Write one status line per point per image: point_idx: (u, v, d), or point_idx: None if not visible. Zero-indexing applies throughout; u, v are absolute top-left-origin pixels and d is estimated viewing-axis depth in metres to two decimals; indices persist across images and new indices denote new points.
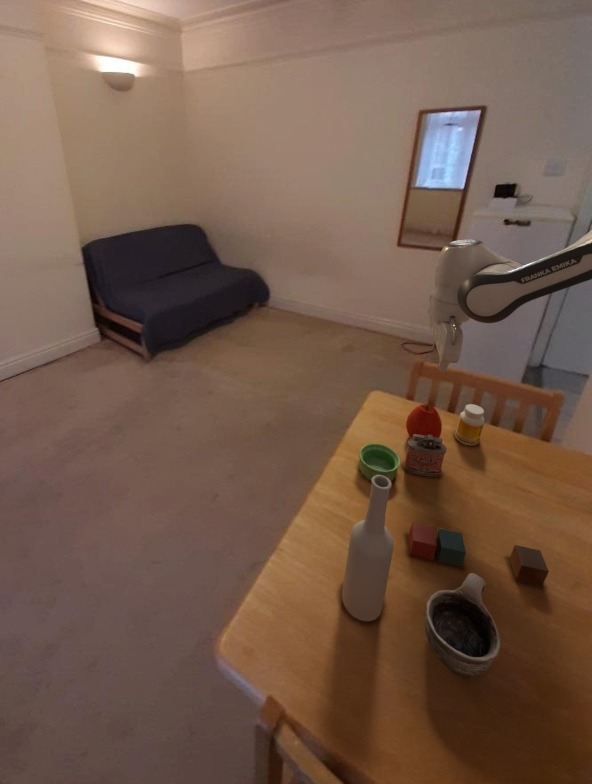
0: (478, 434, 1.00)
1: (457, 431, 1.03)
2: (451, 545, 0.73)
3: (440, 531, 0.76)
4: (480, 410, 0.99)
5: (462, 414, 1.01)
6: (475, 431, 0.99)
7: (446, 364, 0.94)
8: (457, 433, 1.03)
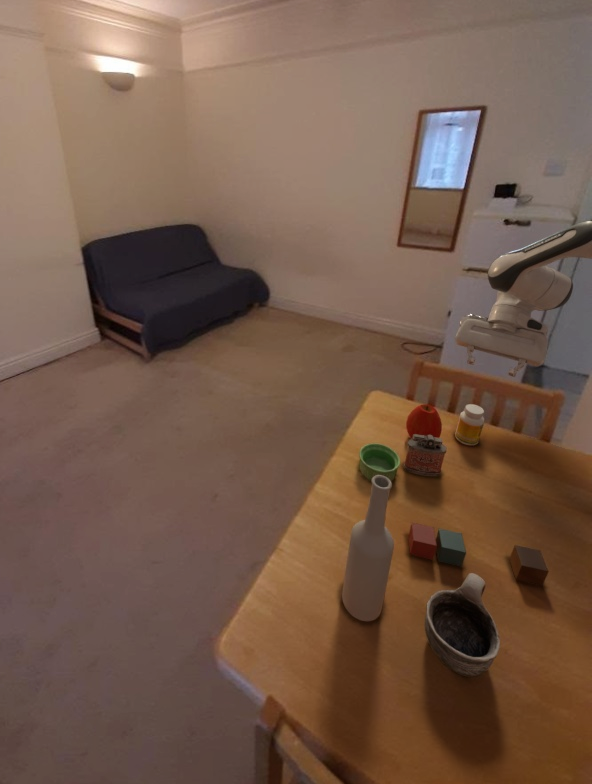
0: (478, 434, 1.00)
1: (457, 431, 1.03)
2: (451, 545, 0.73)
3: (440, 531, 0.76)
4: (480, 410, 0.99)
5: (462, 414, 1.01)
6: (475, 431, 0.99)
7: (468, 354, 1.08)
8: (457, 433, 1.03)
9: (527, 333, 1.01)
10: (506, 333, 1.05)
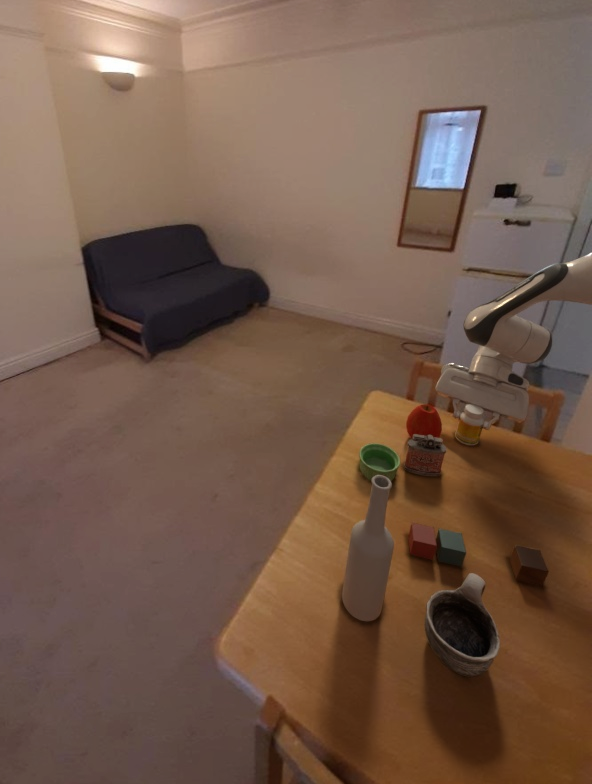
0: (478, 434, 1.00)
1: (457, 431, 1.03)
2: (451, 545, 0.73)
3: (440, 531, 0.76)
4: (480, 410, 0.99)
5: (462, 414, 1.01)
6: (475, 431, 0.99)
7: (454, 408, 1.03)
8: (457, 433, 1.03)
9: (508, 387, 0.98)
10: (486, 386, 1.01)
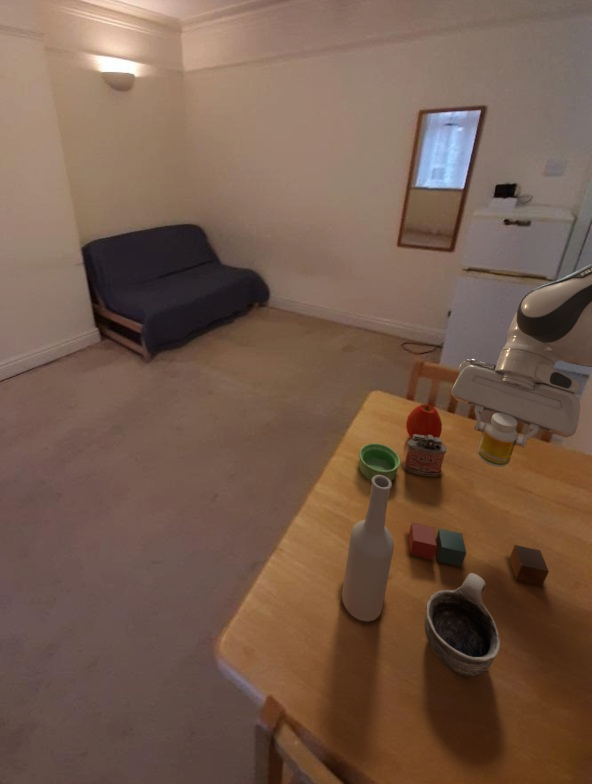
0: (509, 452, 0.76)
1: (481, 448, 0.79)
2: (451, 545, 0.73)
3: (440, 531, 0.76)
4: (512, 421, 0.75)
5: (488, 426, 0.77)
6: (505, 448, 0.75)
7: (476, 418, 0.79)
8: (481, 450, 0.79)
9: (550, 391, 0.73)
10: (520, 388, 0.77)
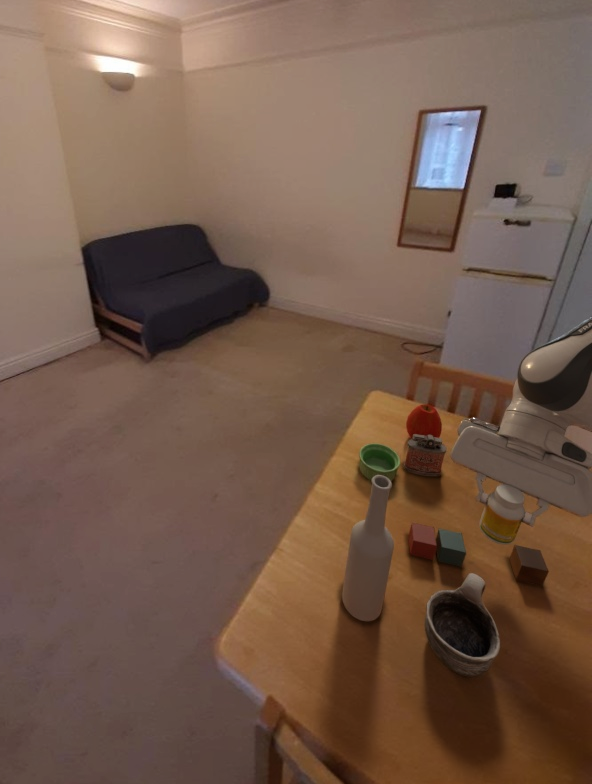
0: (515, 530, 0.67)
1: (483, 522, 0.70)
2: (451, 545, 0.73)
3: (440, 531, 0.76)
4: (519, 496, 0.66)
5: (491, 499, 0.68)
6: (511, 526, 0.66)
7: (478, 488, 0.71)
8: (483, 525, 0.70)
9: (561, 463, 0.65)
10: (527, 457, 0.68)
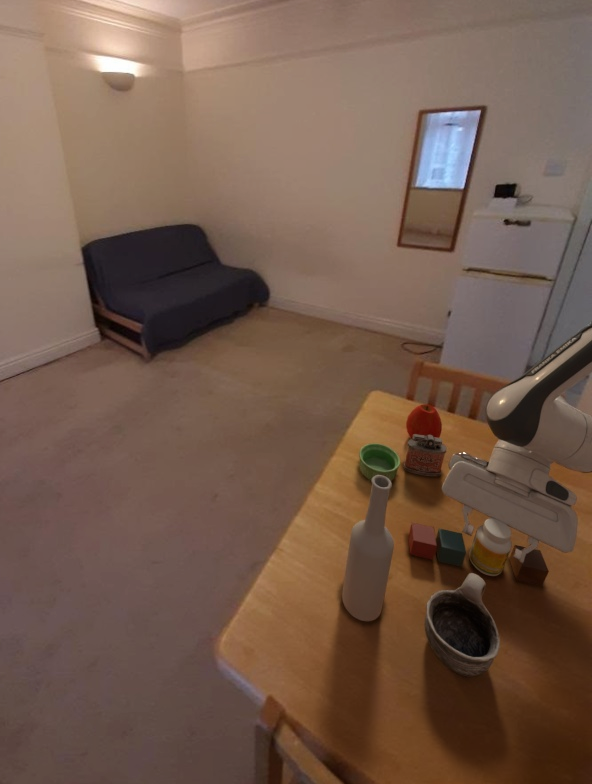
0: (503, 563, 0.71)
1: (472, 553, 0.74)
2: (451, 545, 0.73)
3: (440, 531, 0.76)
4: (506, 530, 0.70)
5: (480, 532, 0.72)
6: (498, 559, 0.70)
7: None
8: (472, 556, 0.74)
9: (546, 501, 0.69)
10: (514, 494, 0.72)
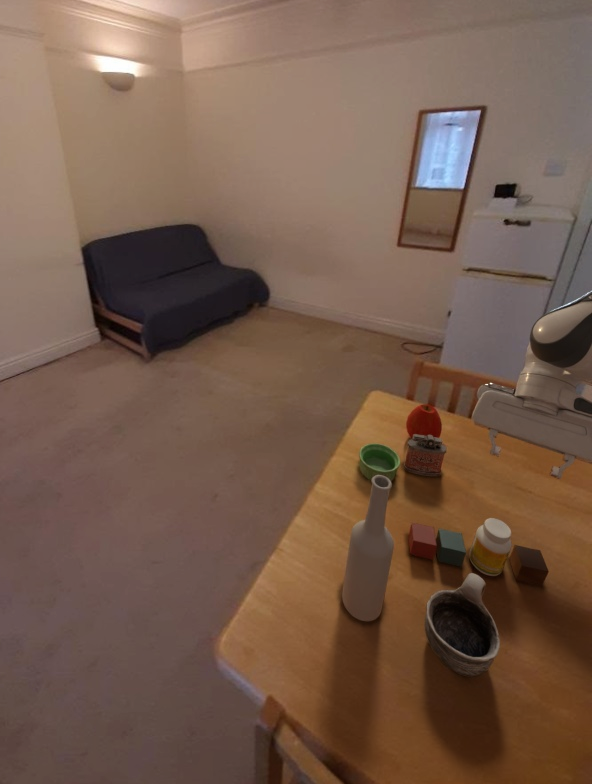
0: (503, 563, 0.71)
1: (472, 553, 0.74)
2: (451, 545, 0.73)
3: (440, 531, 0.76)
4: (506, 530, 0.70)
5: (480, 532, 0.72)
6: (498, 559, 0.70)
7: (491, 442, 0.78)
8: (472, 556, 0.74)
9: (574, 417, 0.72)
10: (543, 414, 0.75)
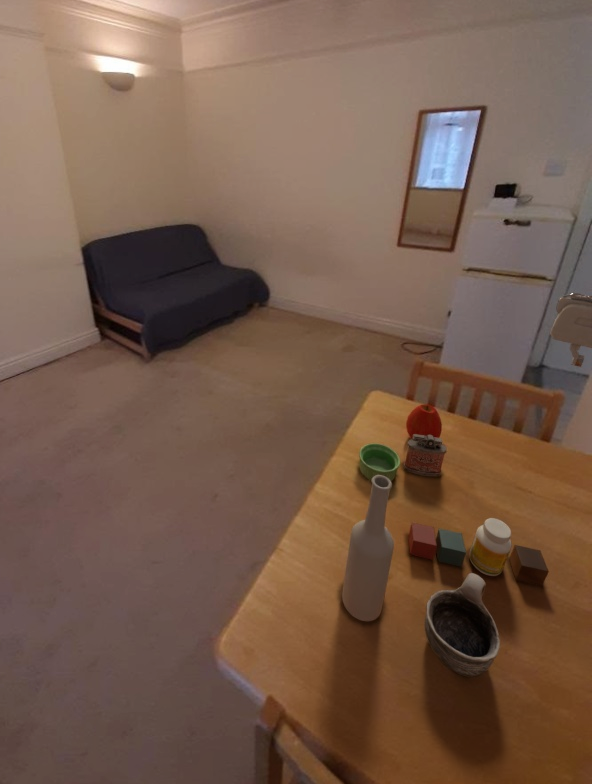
0: (503, 563, 0.71)
1: (472, 553, 0.74)
2: (451, 545, 0.73)
3: (440, 531, 0.76)
4: (506, 530, 0.70)
5: (480, 532, 0.72)
6: (498, 559, 0.70)
7: None
8: (472, 556, 0.74)
9: None
10: None
